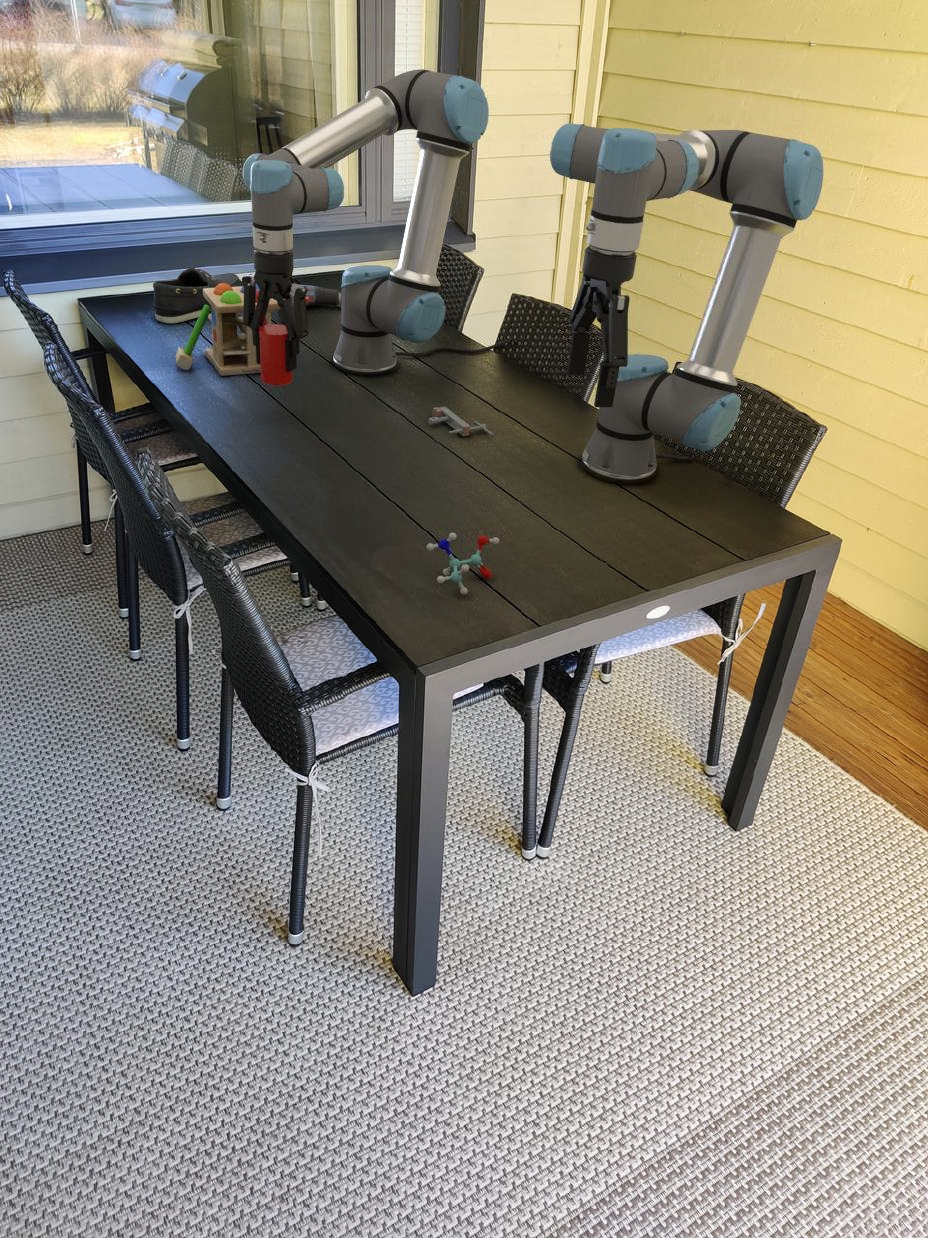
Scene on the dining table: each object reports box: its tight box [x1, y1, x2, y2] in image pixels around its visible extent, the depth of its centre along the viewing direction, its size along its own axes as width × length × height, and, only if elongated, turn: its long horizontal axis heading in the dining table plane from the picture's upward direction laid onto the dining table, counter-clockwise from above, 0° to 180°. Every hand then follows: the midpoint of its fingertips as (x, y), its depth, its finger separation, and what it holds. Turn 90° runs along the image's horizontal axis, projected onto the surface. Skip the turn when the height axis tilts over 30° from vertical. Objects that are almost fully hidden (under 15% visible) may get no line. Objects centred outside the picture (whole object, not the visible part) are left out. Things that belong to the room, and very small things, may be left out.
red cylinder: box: [259, 323, 293, 386], centre depth 200 cm, size 6×6×10 cm
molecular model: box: [426, 532, 500, 596], centre depth 158 cm, size 12×10×10 cm
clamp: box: [428, 406, 495, 438], centre depth 210 cm, size 15×2×10 cm
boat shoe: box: [152, 267, 243, 324], centre depth 261 cm, size 13×33×10 cm, turn 147°
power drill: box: [277, 283, 341, 322], centre depth 265 cm, size 5×19×20 cm
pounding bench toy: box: [174, 283, 280, 377], centre depth 225 cm, size 23×14×18 cm, turn 116°
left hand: (276, 365), depth 201 cm, fingers closed on red cylinder, 6 cm apart
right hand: (588, 389), depth 153 cm, fingers open, 13 cm apart
